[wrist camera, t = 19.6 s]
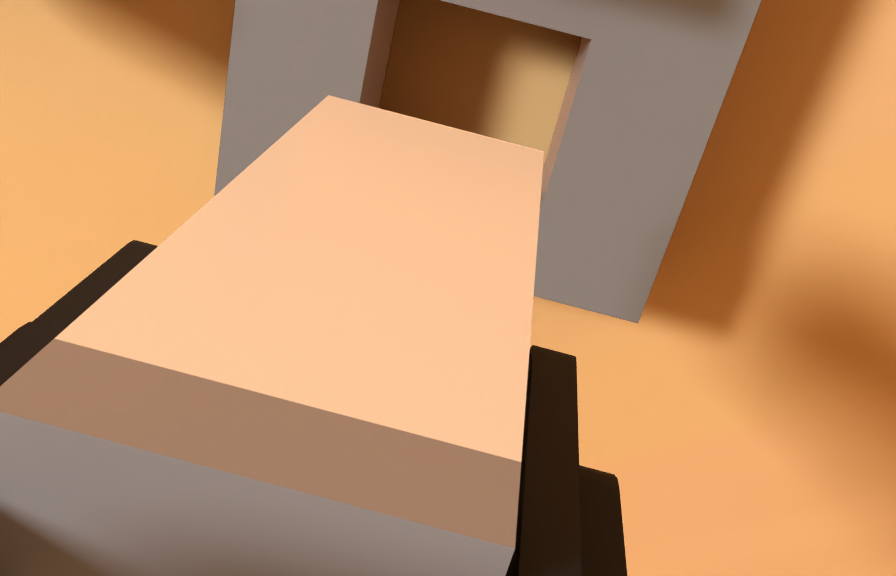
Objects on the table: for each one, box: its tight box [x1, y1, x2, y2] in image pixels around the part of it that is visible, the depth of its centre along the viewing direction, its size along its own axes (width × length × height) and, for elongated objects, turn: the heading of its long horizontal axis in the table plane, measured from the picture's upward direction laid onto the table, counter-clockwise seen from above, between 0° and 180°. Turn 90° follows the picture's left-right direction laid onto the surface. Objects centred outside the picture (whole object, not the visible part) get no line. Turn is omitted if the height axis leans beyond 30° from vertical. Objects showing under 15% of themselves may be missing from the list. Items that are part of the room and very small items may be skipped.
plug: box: [0, 95, 544, 576], centre depth 11 cm, size 4×4×10 cm
